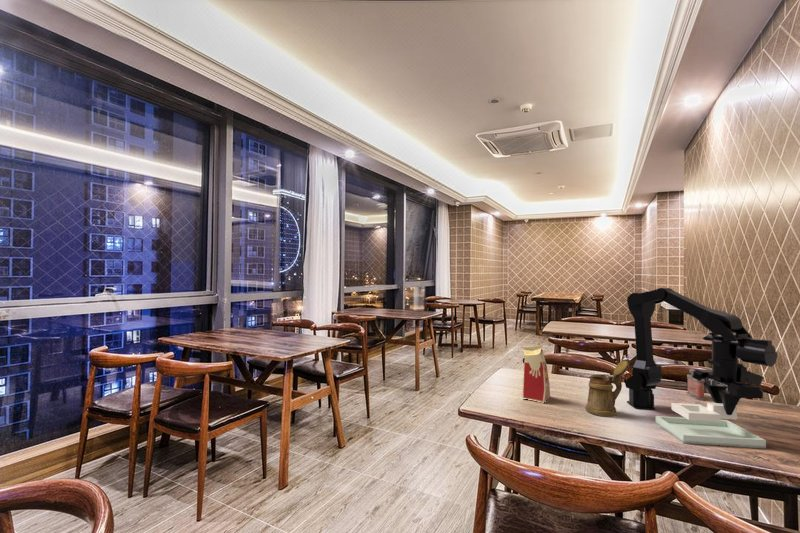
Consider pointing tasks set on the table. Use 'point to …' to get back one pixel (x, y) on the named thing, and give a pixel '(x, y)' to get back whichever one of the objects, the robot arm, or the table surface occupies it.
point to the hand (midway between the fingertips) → (725, 412)
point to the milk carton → (535, 375)
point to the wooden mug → (605, 392)
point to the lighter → (695, 387)
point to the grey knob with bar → (700, 403)
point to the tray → (710, 432)
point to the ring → (703, 411)
